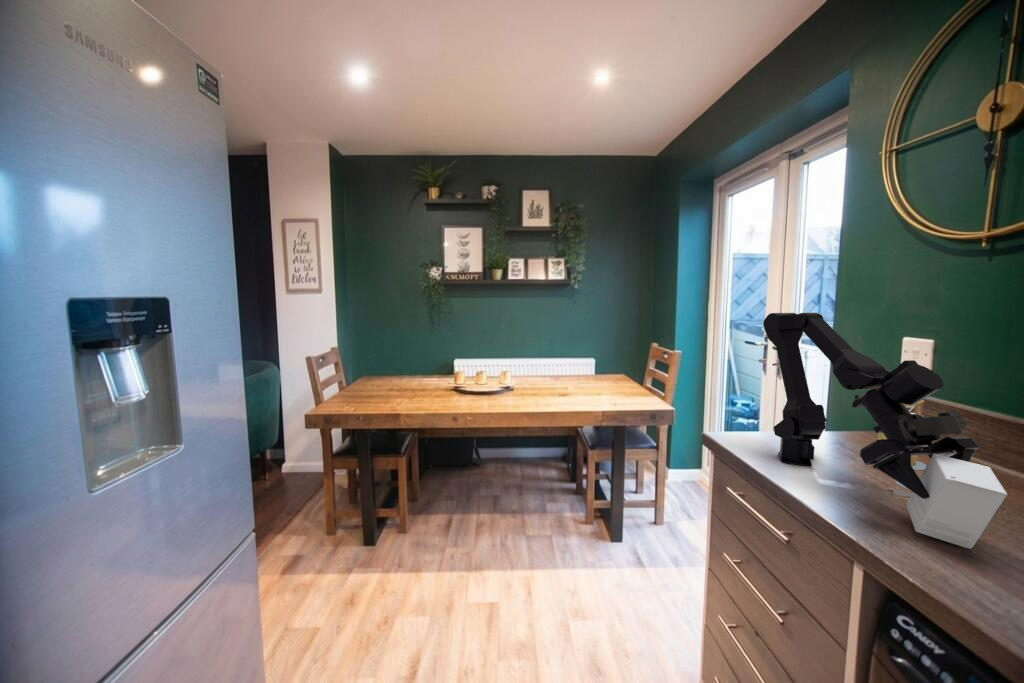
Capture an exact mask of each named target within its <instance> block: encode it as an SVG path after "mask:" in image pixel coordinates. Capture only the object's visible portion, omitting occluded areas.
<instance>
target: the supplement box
mask: <svg viewBox="0 0 1024 683" xmlns="http://www.w3.org/2000/svg"><path fill="white" fill-rule="evenodd" d="M926 465H927V466H926V468H925V469H924V470H923V472H922V475H921V476H920V477H919V479H920V480H921V482H922V483H923V485H924V487H925V488H926V490H927V492H928V494H929V498H926V499H923V498H921V497H920V496H918V495H917V494H915V493H914V492H912V495H911V497H909V499H908V501H907V503H906V508H907V510H908V513H909V517H910V519H911V522H912V525H913V528H914V530H915V532H916V533H918V534H923V535H925V536H928V537H932V538H935V539H938V540H941V541H943V542H947V543H949V544H953V545H956V546H958V547H959V546H960V547H962V548H966V549H970V550H971V549H972V548H973V547H974V545H975V544H976V542H978V540H979V538H980V537H981V535H982V534H983V532H984V531H985V529H986V528H987V526H988V525H989V523H990V522H991V520H992V518H993V516H995V514H996V512H997V511H998V509H999V508H1000V506H1001V505H1002V503H1003V501H1004V500H1005V499H1006V497H1007V496H1008V493H1007V491H1006V490H1005V489H1004V487H1003V486H1002V484H1001V482H1000V481H999V479H998V478H997V476H996V475H995V473H994V472H993V470H992V468H991V467H990V466H986V465H983V464H978V463H976V462H975V463H974V462H971V461H969V462H967V461H963V460H959V459H954V458H950V457H946V456H941V455H937V454H933V455H932V457H931V458H930V459H929V460H928V463H927V464H926Z"/></svg>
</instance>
